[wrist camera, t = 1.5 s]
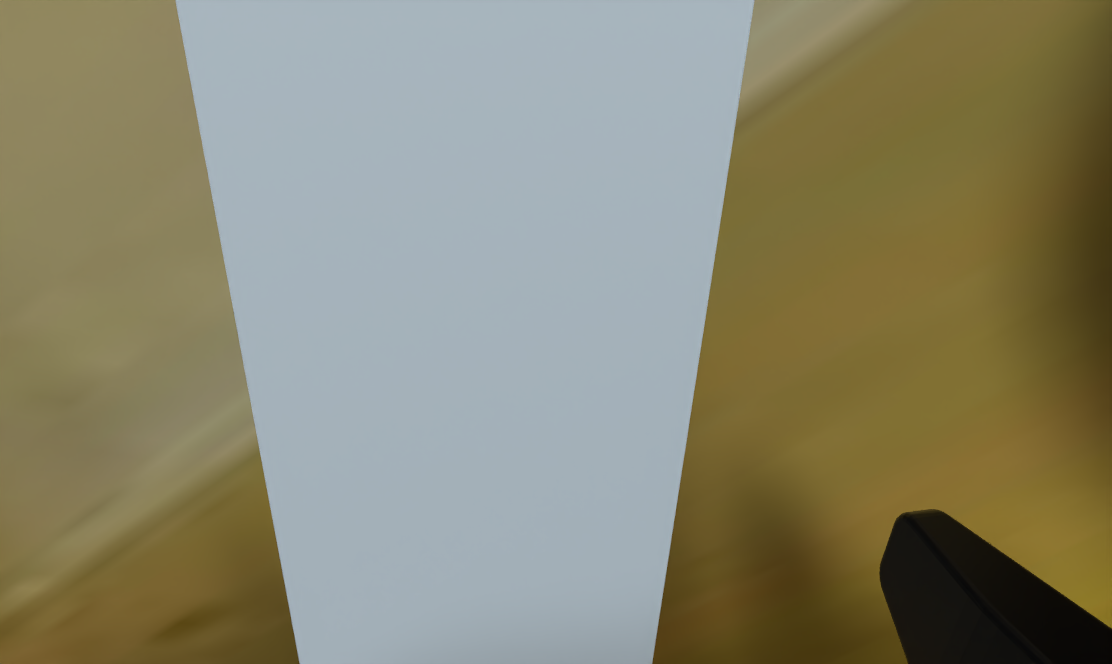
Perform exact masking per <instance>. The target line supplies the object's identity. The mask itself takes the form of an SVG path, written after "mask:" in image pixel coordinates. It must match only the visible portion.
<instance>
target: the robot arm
mask: <svg viewBox="0 0 1112 664" xmlns="http://www.w3.org/2000/svg"><path fill="white" fill-rule="evenodd" d="M880 582H881V587H882V590H883V593H884V596H885V599H886V602H887V604H888V607H889V610H890V613H891V616H892V619H893V622H894V624H895V627H896V630H897V633H898V636H899V639H900V641H901V644H902V647H903V650H904V653H905V656H906V658H907V661H908V664H1112V629H1111V628H1110V627H1109V626H1107V625H1106V624H1104V623H1103V622H1101V621H1100V620H1098V619H1097V618H1096V617H1094V616H1093V615H1091V614H1090V613H1088V612H1087V611H1086V610H1084V609H1083V608H1081V607H1080V606H1078V605H1077V604H1076V603H1074V602H1073V601H1071V600H1070V599H1068V598H1067V597H1065V596H1064V595H1063V594H1061V593H1060V592H1058V591H1057V590H1055V589H1054V588H1053V587H1051V586H1050V585H1048V584H1047V583H1045V582H1044V581H1042V580H1041V579H1040V578H1038V577H1037V576H1035V575H1034V574H1032V573H1031V572H1030V571H1028V570H1027V569H1025V568H1024V567H1022V566H1021V565H1019V564H1018V563H1017V562H1015V561H1014V560H1012V559H1011V558H1009V557H1008V556H1007V555H1005V554H1004V553H1002V552H1001V551H999V550H998V549H996V548H995V547H994V546H992V545H991V544H989V543H988V542H986V541H985V540H984V539H982V538H981V537H979V536H978V535H976V534H975V533H973V532H972V531H971V530H969V529H968V528H966V527H965V526H963V525H962V524H961V523H959V522H958V521H956V520H955V519H953V518H952V517H951V516H949V515H948V514H946V513H944V512H942V511H940V510H935V509H929V510H921V511H913V512H905V513H902V514H901V515H900V516H899V517H898V518H897V519H896V521H895V523H894V526H893V529H892V532H891V534H890V537H889V540H888V543H887V546H886V549H885V552H884V555H883V558H882V561H881V564H880Z"/></svg>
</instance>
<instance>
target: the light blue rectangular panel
mask: <svg viewBox="0 0 1112 664" xmlns="http://www.w3.org/2000/svg"><path fill="white" fill-rule="evenodd" d="M176 5H177V11H178V16H179V21H180V27H181V32H182V37H183V43H184V48H185V54H186V59H187V64H188V70H189V75H190V80H191V86H192V91H193V96H194V102H195V107H196V112H197V118H198V123H199V128H200V134H201V139H202V144H203V150H204V155H205V160H206V166H207V171H208V176H209V182H210V187H211V192H212V198H213V203H214V208H215V214H216V219H217V224H218V230H219V235H220V240H221V246H222V251H223V256H224V262H225V267H226V272H227V278H228V283H229V288H230V294H231V299H232V304H233V310H234V315H235V320H236V326H237V331H238V336H239V342H240V347H241V353H242V358H243V363H244V369H245V374H246V379H247V385H248V390H249V395H250V401H251V406H252V411H253V417H254V422H255V427H256V433H257V438H258V443H259V449H260V454H261V459H262V465H263V470H264V475H265V481H266V486H267V491H268V497H269V502H270V507H271V513H272V518H273V523H274V529H275V534H276V539H277V545H278V550H279V555H280V561H281V566H282V571H283V577H284V582H285V587H286V593H287V598H288V603H289V609H290V614H291V619H292V625H293V630H294V635H295V641H296V646H297V652H298V657H299V662H300V664H652V661H653V654H654V648H655V641H656V635H657V628H658V622H659V615H660V609H661V602H662V596H663V589H664V583H665V576H666V570H667V563H668V557H669V550H670V544H671V537H672V531H673V524H674V518H675V512H676V505H677V499H678V492H679V486H680V479H681V473H682V466H683V460H684V453H685V447H686V440H687V434H688V427H689V421H690V414H691V408H692V401H693V395H694V388H695V382H696V375H697V369H698V362H699V356H700V349H701V343H702V336H703V330H704V323H705V317H706V311H707V304H708V298H709V291H710V285H711V278H712V272H713V265H714V259H715V252H716V246H717V239H718V233H719V226H720V220H721V213H722V207H723V200H724V194H725V187H726V181H727V174H728V168H729V161H730V155H731V148H732V142H733V135H734V129H735V122H736V116H737V110H738V103H739V97H740V90H741V84H742V77H743V71H744V64H745V58H746V51H747V45H748V38H749V32H750V25H751V19H752V12H753V6H754V0H176Z"/></svg>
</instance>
